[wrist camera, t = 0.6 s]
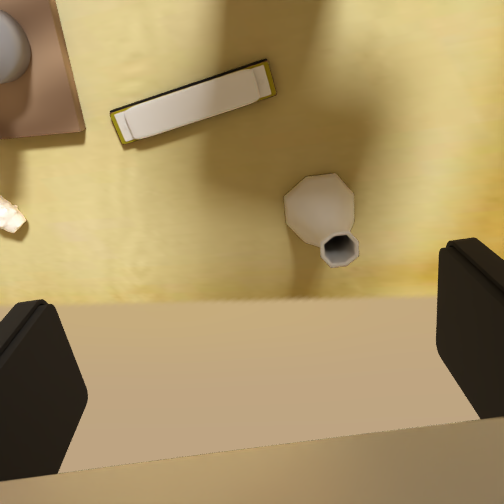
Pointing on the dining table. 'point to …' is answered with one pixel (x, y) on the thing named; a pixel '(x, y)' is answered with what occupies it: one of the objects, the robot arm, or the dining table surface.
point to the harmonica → (194, 102)
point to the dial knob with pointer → (12, 49)
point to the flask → (324, 217)
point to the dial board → (40, 77)
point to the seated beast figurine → (10, 216)
